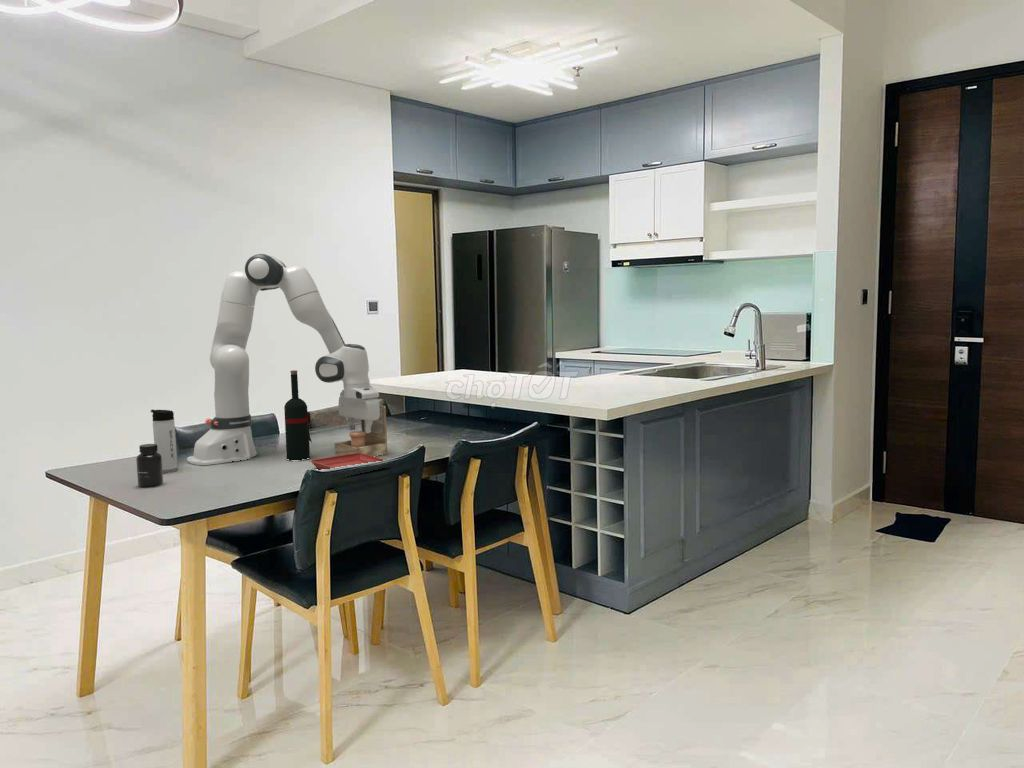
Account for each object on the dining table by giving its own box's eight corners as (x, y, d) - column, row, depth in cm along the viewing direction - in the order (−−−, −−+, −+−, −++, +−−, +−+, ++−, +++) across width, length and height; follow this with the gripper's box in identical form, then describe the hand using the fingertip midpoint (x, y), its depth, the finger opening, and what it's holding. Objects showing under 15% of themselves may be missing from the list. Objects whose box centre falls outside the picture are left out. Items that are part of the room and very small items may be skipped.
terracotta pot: (356, 457, 260) (355, 434, 259) (347, 455, 264) (345, 432, 263) (370, 454, 264) (369, 431, 263) (361, 452, 268) (360, 429, 267)
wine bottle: (319, 455, 263) (315, 369, 260) (299, 461, 254) (294, 372, 251) (302, 454, 267) (298, 368, 263) (281, 459, 258) (276, 371, 254)
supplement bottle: (137, 488, 222) (134, 448, 221) (138, 483, 229) (135, 444, 227) (163, 486, 225) (160, 445, 224) (163, 481, 231) (160, 442, 230)
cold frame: (357, 460, 255) (355, 410, 253) (335, 454, 265) (333, 406, 263) (387, 454, 264) (385, 406, 262) (364, 449, 274) (362, 402, 272)
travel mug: (155, 470, 246) (150, 408, 244) (177, 468, 249) (173, 407, 246) (154, 474, 240) (150, 411, 238) (177, 472, 243) (173, 409, 240)
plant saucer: (359, 461, 256) (359, 451, 255) (388, 470, 242) (388, 459, 242) (309, 470, 244) (309, 460, 243) (337, 479, 230) (336, 469, 230)
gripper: (332, 390, 267) (335, 429, 269) (366, 394, 252) (368, 436, 254) (348, 388, 271) (350, 426, 273) (381, 392, 257) (384, 432, 259)
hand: (359, 431), depth 263 cm, fingers open, 8 cm apart
